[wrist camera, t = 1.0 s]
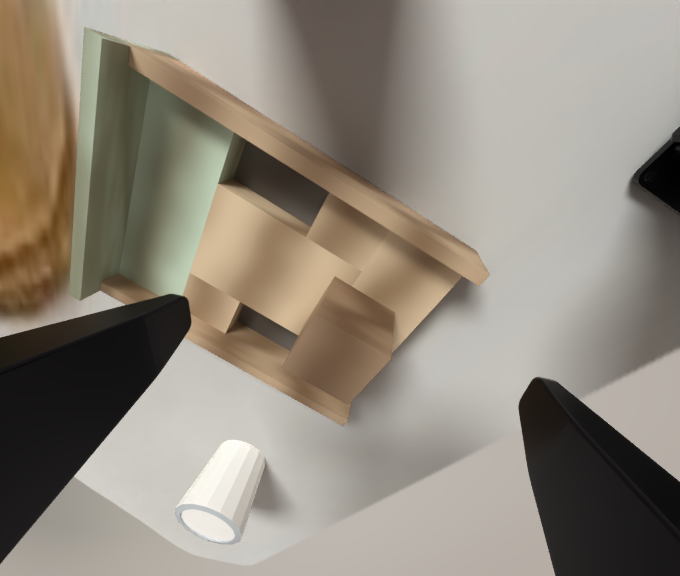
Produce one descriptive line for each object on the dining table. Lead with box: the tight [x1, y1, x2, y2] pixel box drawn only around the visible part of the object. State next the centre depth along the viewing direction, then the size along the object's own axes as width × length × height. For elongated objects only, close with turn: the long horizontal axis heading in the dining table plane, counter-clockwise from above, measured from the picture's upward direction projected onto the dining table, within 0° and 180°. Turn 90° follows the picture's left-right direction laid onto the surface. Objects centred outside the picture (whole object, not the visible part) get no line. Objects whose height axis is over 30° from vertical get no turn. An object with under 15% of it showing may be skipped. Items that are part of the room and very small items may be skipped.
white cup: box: [175, 440, 266, 544], centre depth 31 cm, size 7×7×7 cm
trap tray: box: [69, 27, 490, 426], centre depth 19 cm, size 21×16×5 cm
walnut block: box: [282, 277, 395, 405], centre depth 18 cm, size 4×4×4 cm
